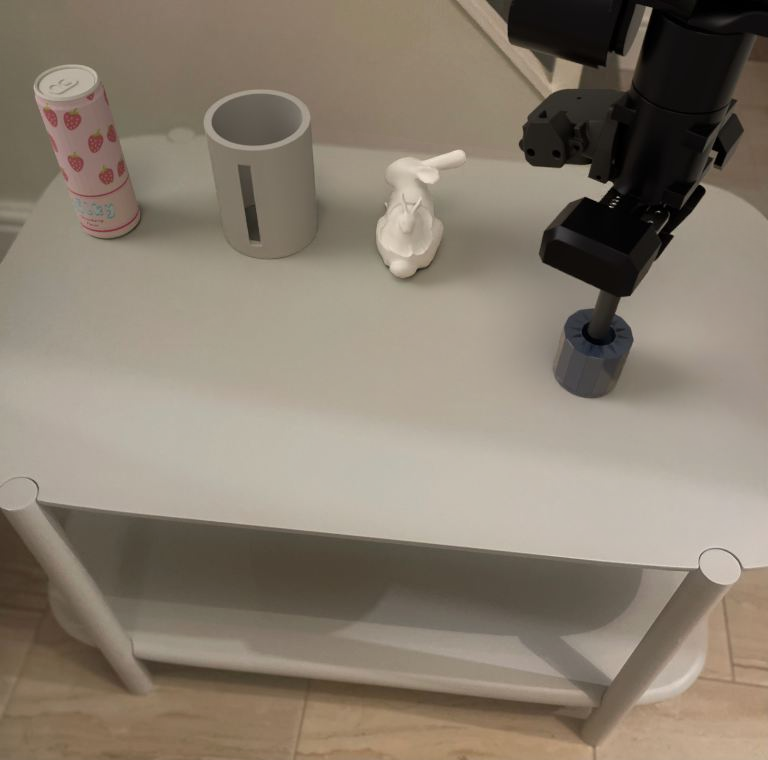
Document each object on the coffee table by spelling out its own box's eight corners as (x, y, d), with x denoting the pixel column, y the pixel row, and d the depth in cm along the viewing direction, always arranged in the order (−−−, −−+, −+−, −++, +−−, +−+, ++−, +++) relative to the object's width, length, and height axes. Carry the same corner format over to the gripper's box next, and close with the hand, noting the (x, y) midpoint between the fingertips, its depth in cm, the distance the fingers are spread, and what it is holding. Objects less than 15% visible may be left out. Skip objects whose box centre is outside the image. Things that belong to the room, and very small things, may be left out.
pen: (600, 321, 63) (630, 234, 56) (612, 336, 62) (644, 249, 55) (582, 327, 63) (610, 240, 56) (594, 342, 62) (624, 256, 55)
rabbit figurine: (384, 201, 80) (386, 117, 73) (459, 207, 80) (469, 123, 72) (370, 284, 73) (370, 200, 65) (452, 292, 72) (462, 208, 65)
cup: (306, 190, 81) (298, 83, 72) (326, 249, 76) (320, 141, 66) (217, 205, 79) (197, 97, 70) (231, 266, 74) (211, 157, 65)
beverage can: (72, 237, 76) (19, 96, 64) (94, 200, 80) (46, 59, 68) (130, 243, 76) (86, 102, 64) (148, 205, 79) (110, 65, 67)
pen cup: (593, 340, 69) (607, 300, 65) (631, 386, 66) (647, 346, 62) (540, 359, 67) (551, 319, 63) (576, 407, 64) (589, 368, 60)
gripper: (622, -14, 54) (575, 175, 66) (480, 112, 44) (455, 306, 56) (785, 37, 50) (702, 228, 62) (668, 188, 40) (597, 379, 52)
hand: (615, 279), depth 58 cm, fingers closed on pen, 2 cm apart
